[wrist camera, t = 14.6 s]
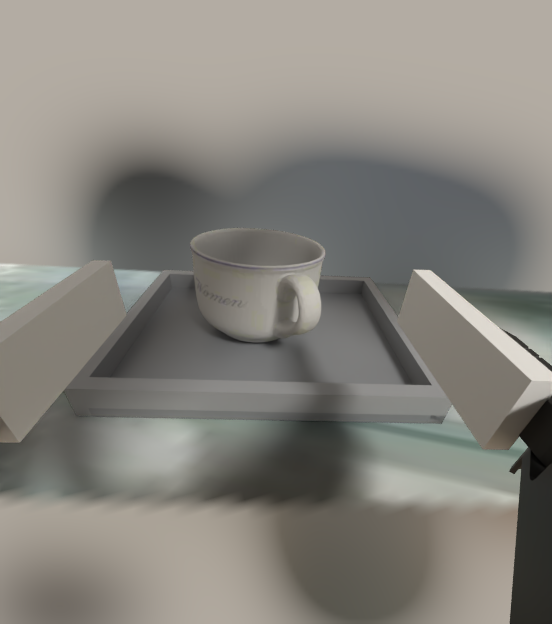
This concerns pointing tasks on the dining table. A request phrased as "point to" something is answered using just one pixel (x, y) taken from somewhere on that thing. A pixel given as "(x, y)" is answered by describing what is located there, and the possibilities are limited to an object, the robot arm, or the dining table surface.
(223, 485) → the dining table surface
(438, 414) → the tray
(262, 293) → the teacup
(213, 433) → the dining table surface
